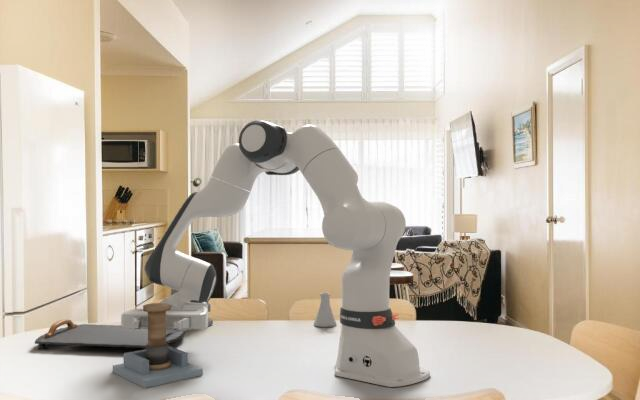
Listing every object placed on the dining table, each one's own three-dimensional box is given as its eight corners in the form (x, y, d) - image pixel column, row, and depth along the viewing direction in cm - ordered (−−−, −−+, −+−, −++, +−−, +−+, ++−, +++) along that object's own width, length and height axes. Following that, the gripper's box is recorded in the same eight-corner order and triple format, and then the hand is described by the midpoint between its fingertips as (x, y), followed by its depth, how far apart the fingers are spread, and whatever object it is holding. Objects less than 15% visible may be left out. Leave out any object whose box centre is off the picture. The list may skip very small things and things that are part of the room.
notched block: (202, 375, 138) (202, 355, 138) (144, 388, 129) (144, 366, 129) (167, 361, 150) (167, 342, 150) (112, 371, 141) (112, 352, 141)
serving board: (195, 337, 177) (195, 316, 177) (162, 358, 154) (162, 333, 154) (71, 333, 183) (71, 312, 183) (22, 352, 160) (22, 328, 160)
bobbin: (175, 366, 139) (175, 305, 139) (151, 372, 135) (150, 308, 135) (162, 361, 144) (162, 302, 144) (138, 366, 140) (138, 305, 140)
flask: (337, 323, 195) (337, 291, 195) (335, 328, 188) (335, 295, 188) (314, 322, 196) (314, 291, 196) (312, 327, 189) (312, 295, 189)
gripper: (132, 301, 153) (110, 311, 139) (213, 301, 152) (200, 312, 138) (132, 326, 153) (110, 339, 139) (213, 327, 152) (200, 340, 138)
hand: (155, 326), depth 139 cm, fingers open, 8 cm apart
